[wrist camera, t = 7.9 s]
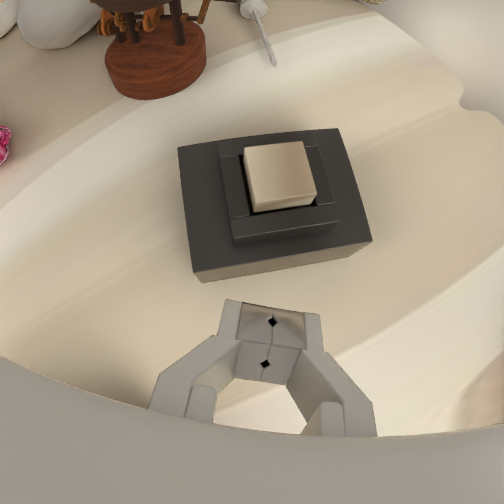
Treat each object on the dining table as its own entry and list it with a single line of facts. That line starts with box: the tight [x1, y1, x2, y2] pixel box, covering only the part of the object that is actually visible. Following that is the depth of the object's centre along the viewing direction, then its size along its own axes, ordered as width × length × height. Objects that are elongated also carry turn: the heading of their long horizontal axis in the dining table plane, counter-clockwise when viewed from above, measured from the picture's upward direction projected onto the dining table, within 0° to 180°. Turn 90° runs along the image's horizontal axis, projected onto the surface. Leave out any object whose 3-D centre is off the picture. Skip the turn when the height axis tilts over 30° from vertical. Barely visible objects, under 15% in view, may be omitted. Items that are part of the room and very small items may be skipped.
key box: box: [177, 128, 373, 283], centre depth 23 cm, size 12×9×7 cm
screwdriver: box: [239, 0, 277, 68], centre depth 31 cm, size 5×25×4 cm
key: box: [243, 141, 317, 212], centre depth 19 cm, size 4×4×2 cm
